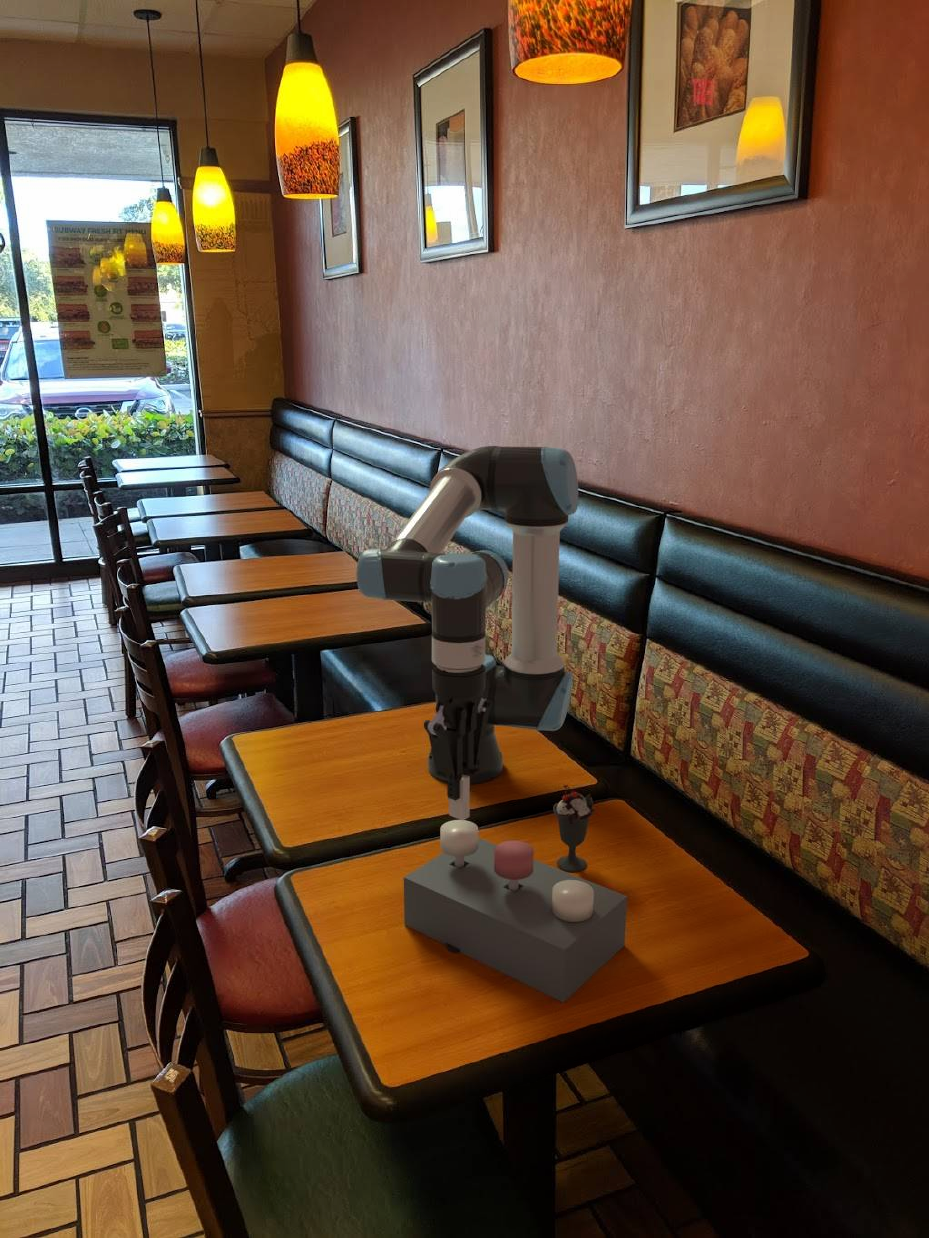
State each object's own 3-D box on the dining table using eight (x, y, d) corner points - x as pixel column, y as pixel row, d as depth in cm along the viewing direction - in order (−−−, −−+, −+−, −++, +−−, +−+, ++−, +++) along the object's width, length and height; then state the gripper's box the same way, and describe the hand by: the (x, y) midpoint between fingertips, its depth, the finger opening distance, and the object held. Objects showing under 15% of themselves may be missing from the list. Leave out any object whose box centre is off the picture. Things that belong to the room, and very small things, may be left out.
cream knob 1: (456, 861, 150) (456, 816, 147) (485, 874, 146) (485, 827, 144) (433, 877, 145) (432, 830, 143) (462, 889, 142) (462, 842, 140)
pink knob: (509, 883, 144) (509, 836, 141) (540, 897, 140) (541, 848, 138) (486, 900, 139) (486, 851, 137) (517, 914, 136) (518, 864, 134)
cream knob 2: (565, 923, 138) (567, 875, 136) (599, 938, 135) (601, 889, 133) (543, 942, 134) (544, 892, 132) (577, 957, 131) (579, 907, 128)
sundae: (546, 870, 158) (549, 787, 154) (557, 851, 164) (559, 770, 160) (586, 878, 156) (589, 793, 152) (595, 858, 162) (599, 776, 158)
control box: (471, 879, 156) (471, 834, 154) (624, 945, 139) (627, 896, 137) (404, 924, 144) (403, 877, 142) (563, 1002, 127) (564, 949, 125)
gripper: (449, 682, 129) (450, 841, 136) (507, 658, 139) (506, 807, 146) (407, 670, 134) (410, 824, 140) (467, 648, 144) (466, 793, 150)
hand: (459, 815), depth 143 cm, fingers closed
